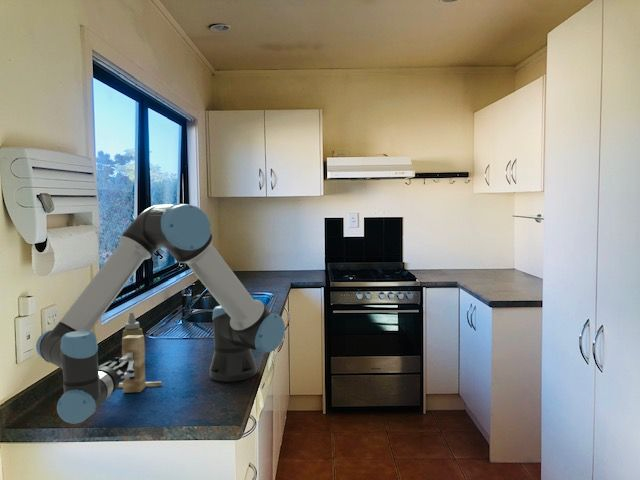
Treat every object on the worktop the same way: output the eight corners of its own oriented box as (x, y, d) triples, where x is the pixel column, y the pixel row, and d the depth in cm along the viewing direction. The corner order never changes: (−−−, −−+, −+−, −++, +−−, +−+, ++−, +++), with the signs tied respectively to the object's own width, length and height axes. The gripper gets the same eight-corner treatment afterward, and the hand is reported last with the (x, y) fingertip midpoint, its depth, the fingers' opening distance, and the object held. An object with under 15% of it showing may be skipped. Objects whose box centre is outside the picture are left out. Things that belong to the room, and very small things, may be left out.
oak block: (145, 387, 158) (144, 334, 158) (140, 392, 153) (138, 337, 153) (128, 388, 158) (127, 335, 158) (123, 393, 153) (121, 338, 153)
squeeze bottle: (120, 367, 178) (118, 316, 177) (123, 360, 186) (120, 311, 184) (145, 365, 180) (143, 314, 179) (146, 358, 188) (144, 309, 187)
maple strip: (161, 385, 160) (161, 381, 160) (160, 386, 159) (160, 382, 159) (115, 386, 159) (115, 383, 159) (114, 388, 158) (114, 384, 158)
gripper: (73, 400, 129) (108, 370, 153) (126, 398, 130) (153, 368, 153) (71, 371, 129) (107, 345, 152) (124, 369, 129) (151, 343, 153)
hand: (130, 357), depth 153 cm, fingers closed
